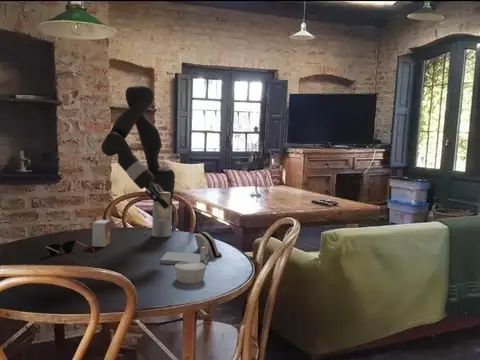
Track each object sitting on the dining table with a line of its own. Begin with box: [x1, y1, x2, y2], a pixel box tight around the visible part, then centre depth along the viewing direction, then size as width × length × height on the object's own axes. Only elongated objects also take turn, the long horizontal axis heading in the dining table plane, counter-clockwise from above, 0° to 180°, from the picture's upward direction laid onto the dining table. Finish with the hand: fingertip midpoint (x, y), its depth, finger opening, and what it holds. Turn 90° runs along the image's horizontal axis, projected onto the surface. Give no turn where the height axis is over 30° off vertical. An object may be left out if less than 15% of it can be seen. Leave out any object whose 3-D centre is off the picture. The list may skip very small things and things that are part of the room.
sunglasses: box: [45, 239, 98, 264], centre depth 185 cm, size 14×16×5 cm
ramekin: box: [174, 262, 207, 284], centre depth 164 cm, size 11×11×5 cm
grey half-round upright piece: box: [194, 231, 223, 259], centre depth 201 cm, size 17×5×10 cm, turn 25°
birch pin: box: [158, 192, 171, 221], centre depth 186 cm, size 5×5×11 cm
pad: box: [159, 242, 211, 266], centre depth 187 cm, size 12×18×7 cm, turn 86°
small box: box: [91, 219, 111, 248], centre depth 205 cm, size 8×6×10 cm
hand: (168, 206), depth 185 cm, fingers closed on birch pin, 4 cm apart
